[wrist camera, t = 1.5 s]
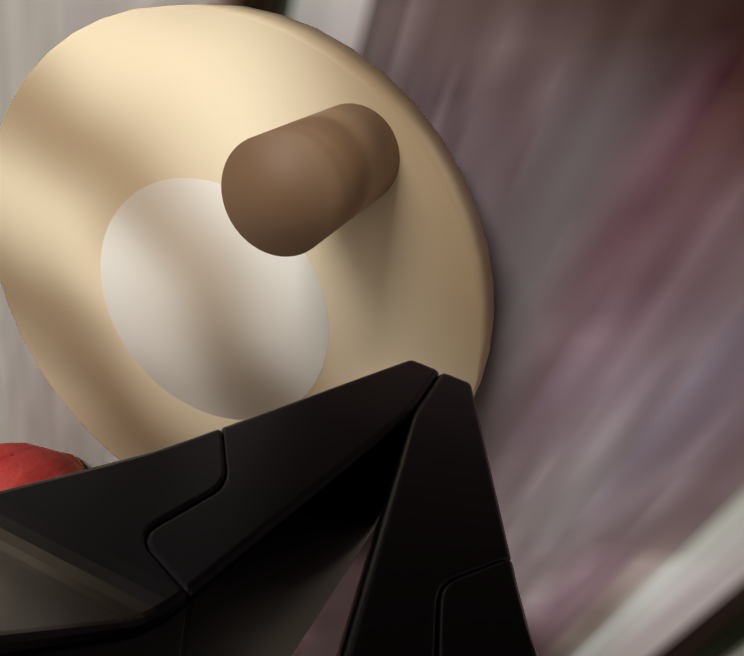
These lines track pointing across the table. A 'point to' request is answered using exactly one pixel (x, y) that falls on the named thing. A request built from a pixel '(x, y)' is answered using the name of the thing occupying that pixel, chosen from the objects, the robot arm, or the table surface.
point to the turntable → (229, 224)
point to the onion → (33, 464)
